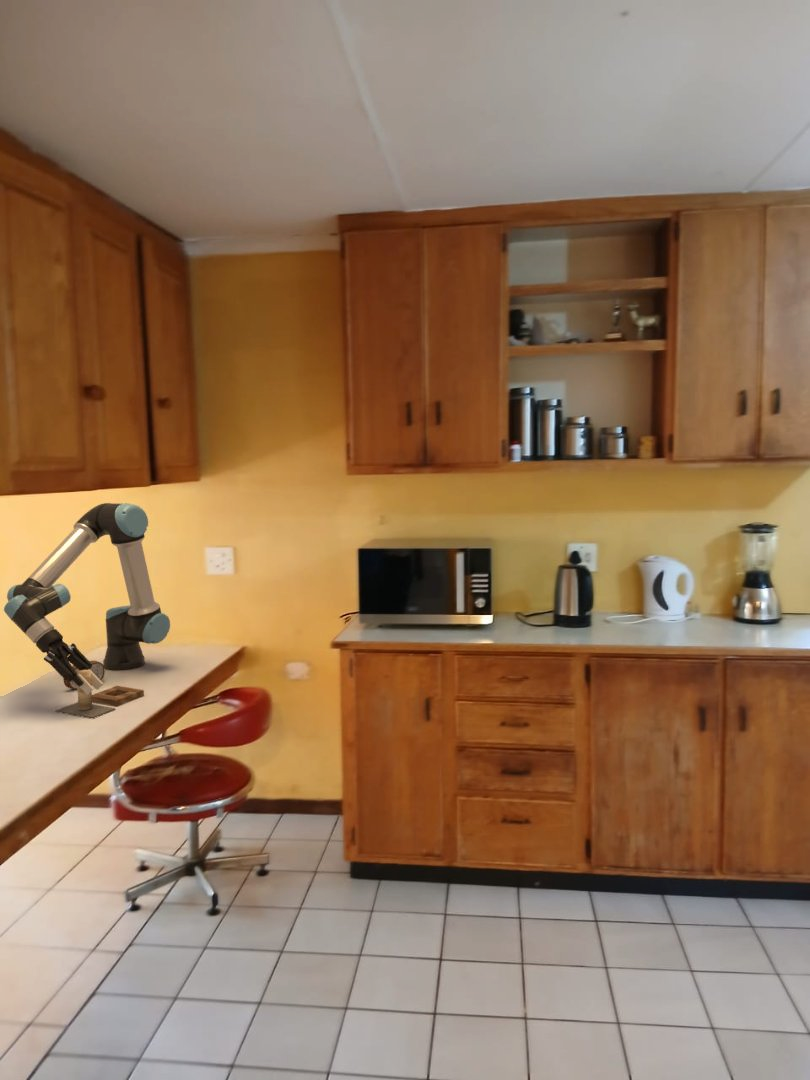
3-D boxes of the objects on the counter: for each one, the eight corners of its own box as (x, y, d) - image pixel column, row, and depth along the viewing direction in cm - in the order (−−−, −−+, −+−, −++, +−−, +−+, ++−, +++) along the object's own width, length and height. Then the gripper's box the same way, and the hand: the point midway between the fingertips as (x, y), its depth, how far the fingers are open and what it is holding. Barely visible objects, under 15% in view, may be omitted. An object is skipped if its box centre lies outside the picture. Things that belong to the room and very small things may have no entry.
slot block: (117, 691, 252) (117, 685, 252) (143, 695, 247) (143, 690, 247) (89, 701, 241) (89, 695, 241) (116, 706, 236) (116, 700, 236)
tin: (101, 680, 265) (100, 657, 264) (106, 681, 264) (105, 658, 263) (63, 691, 252) (62, 667, 251) (69, 692, 251) (67, 668, 250)
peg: (85, 705, 235) (83, 669, 233) (95, 707, 233) (93, 670, 232) (75, 709, 231) (73, 672, 230) (84, 711, 229) (82, 673, 228)
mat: (78, 703, 240) (78, 701, 239) (115, 709, 233) (115, 708, 233) (55, 711, 231) (55, 710, 231) (92, 718, 225) (92, 717, 225)
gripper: (55, 637, 241) (103, 688, 240) (19, 651, 224) (71, 706, 223) (69, 622, 240) (118, 673, 239) (33, 634, 222) (86, 689, 221)
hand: (95, 689), depth 231 cm, fingers open, 4 cm apart
